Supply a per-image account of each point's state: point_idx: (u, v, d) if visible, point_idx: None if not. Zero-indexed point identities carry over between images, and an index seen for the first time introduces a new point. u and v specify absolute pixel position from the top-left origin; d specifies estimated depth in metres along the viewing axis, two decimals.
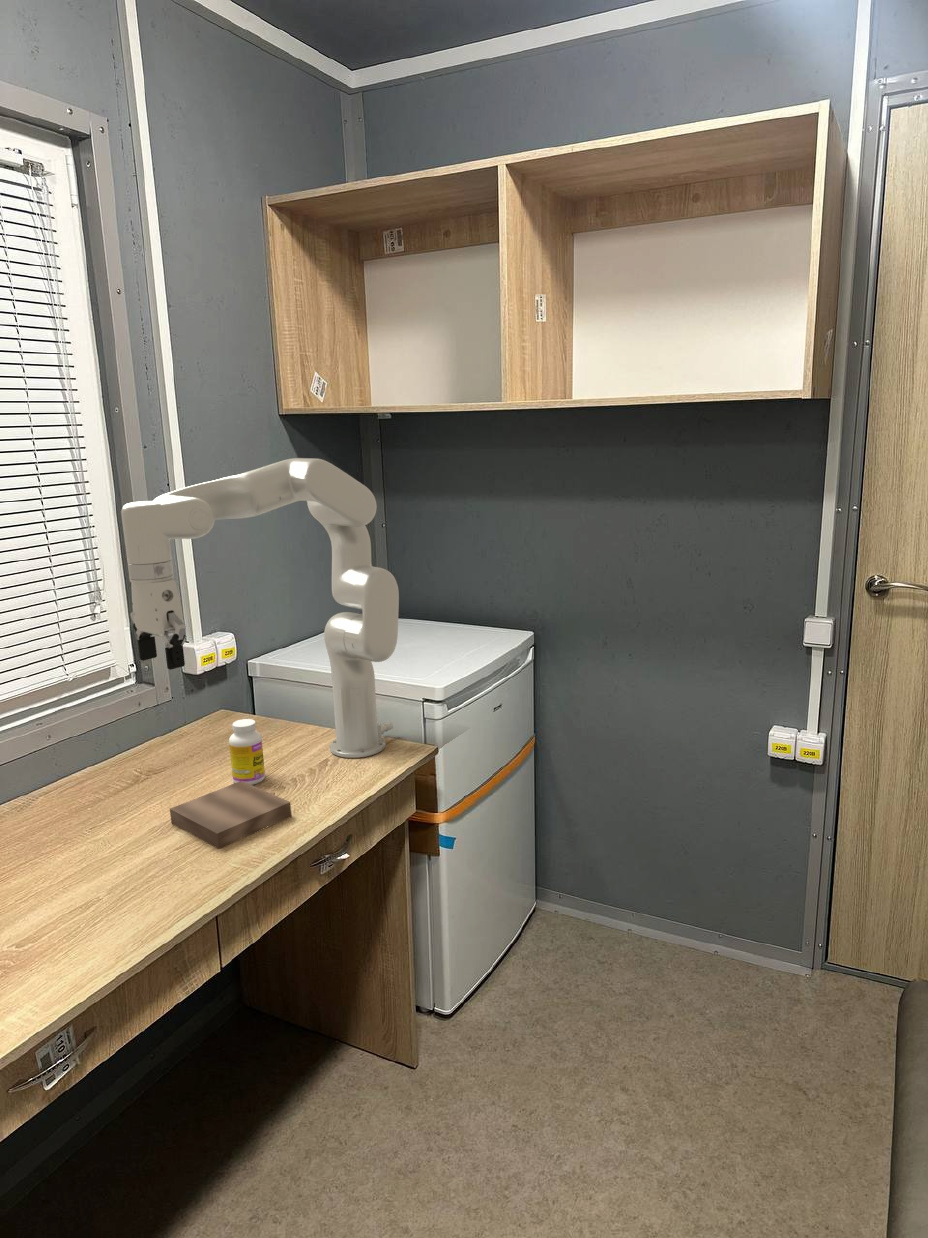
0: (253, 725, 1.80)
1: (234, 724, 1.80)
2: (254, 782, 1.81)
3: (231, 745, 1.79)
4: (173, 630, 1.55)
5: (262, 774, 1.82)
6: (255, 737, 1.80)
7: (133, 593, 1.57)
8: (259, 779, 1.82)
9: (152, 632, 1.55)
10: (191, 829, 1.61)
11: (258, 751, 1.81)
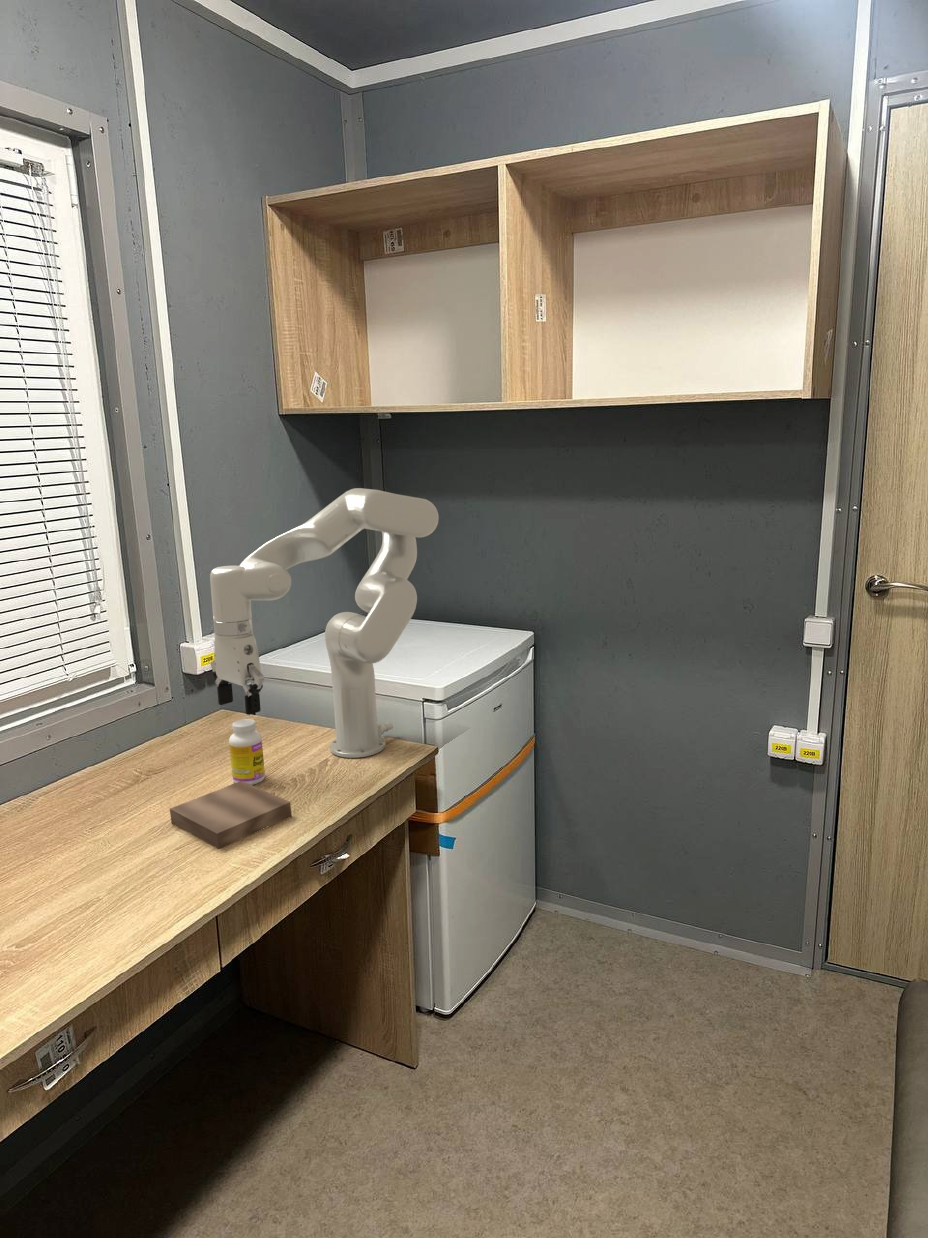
0: (253, 725, 1.80)
1: (234, 724, 1.80)
2: (254, 782, 1.81)
3: (231, 745, 1.79)
4: (251, 680, 1.75)
5: (262, 774, 1.82)
6: (255, 737, 1.80)
7: (216, 646, 1.77)
8: (259, 779, 1.82)
9: (233, 681, 1.76)
10: (191, 829, 1.61)
11: (258, 751, 1.81)
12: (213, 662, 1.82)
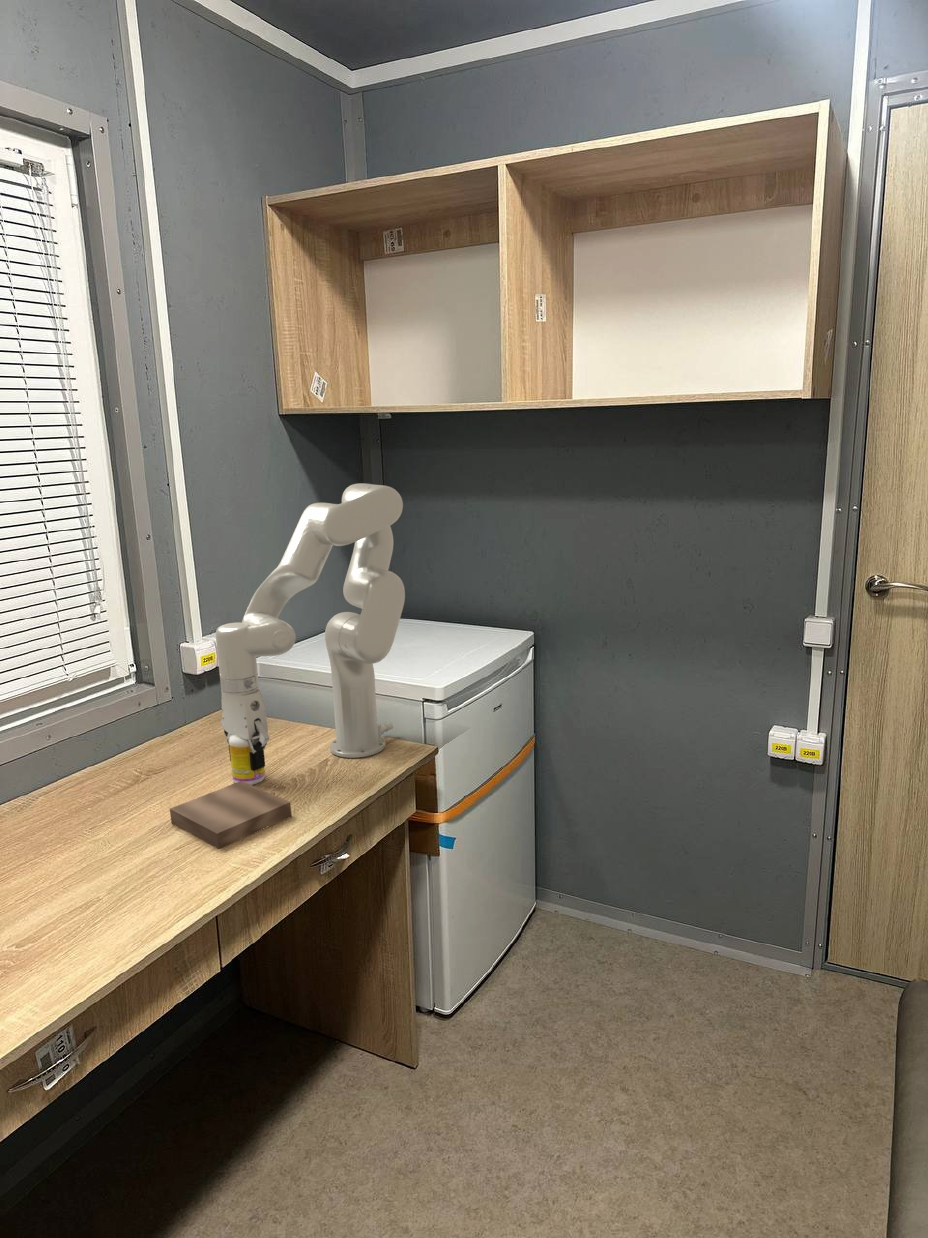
0: None
1: None
2: (254, 782, 1.81)
3: (231, 745, 1.79)
4: (257, 736, 1.79)
5: (262, 774, 1.82)
6: None
7: (223, 701, 1.80)
8: (259, 779, 1.82)
9: (240, 736, 1.79)
10: (191, 829, 1.61)
11: None
12: (222, 720, 1.85)
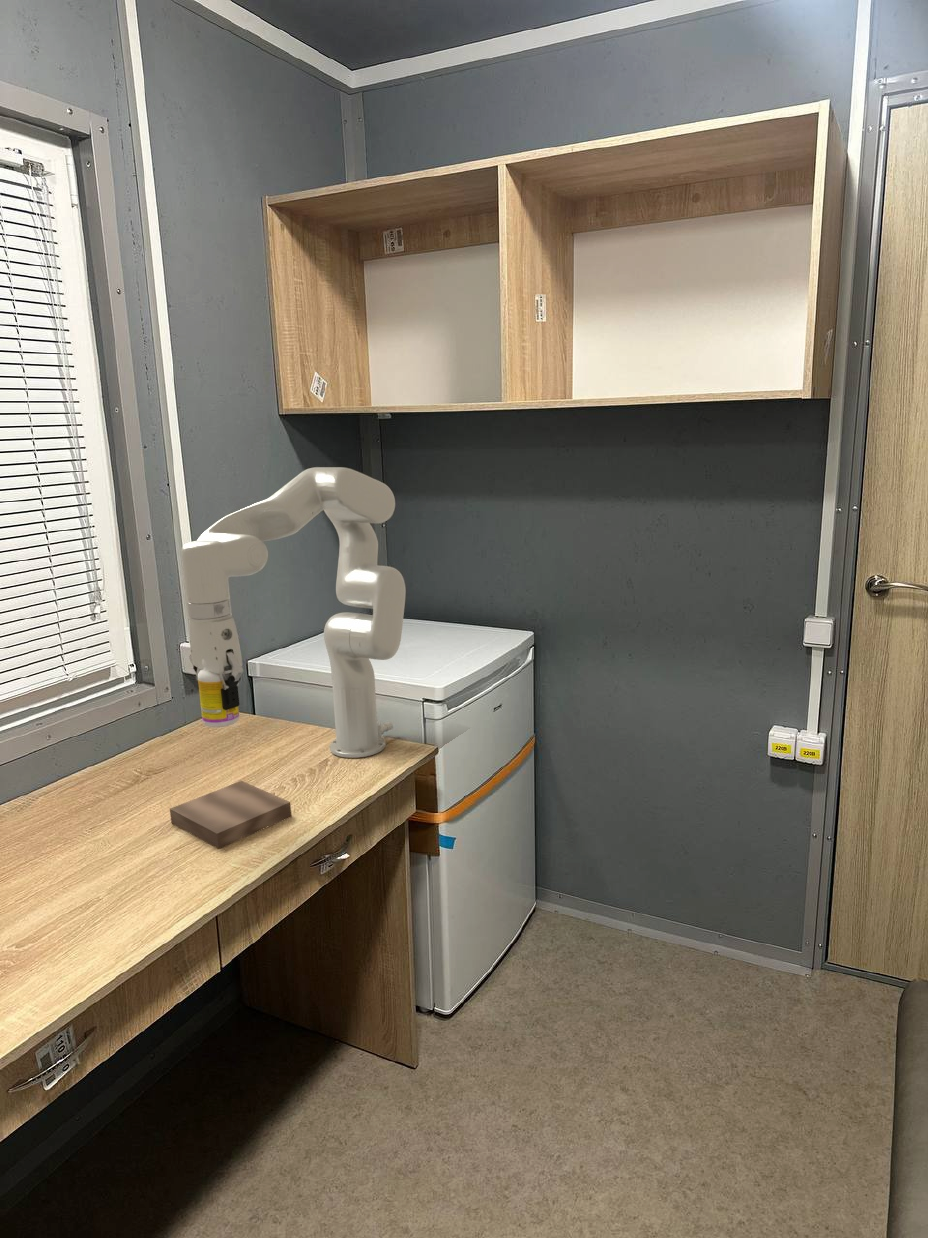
0: None
1: None
2: (226, 723, 1.58)
3: (200, 681, 1.57)
4: (230, 671, 1.57)
5: (235, 715, 1.60)
6: None
7: (191, 631, 1.57)
8: (232, 720, 1.59)
9: (211, 670, 1.56)
10: (191, 829, 1.61)
11: None
12: None
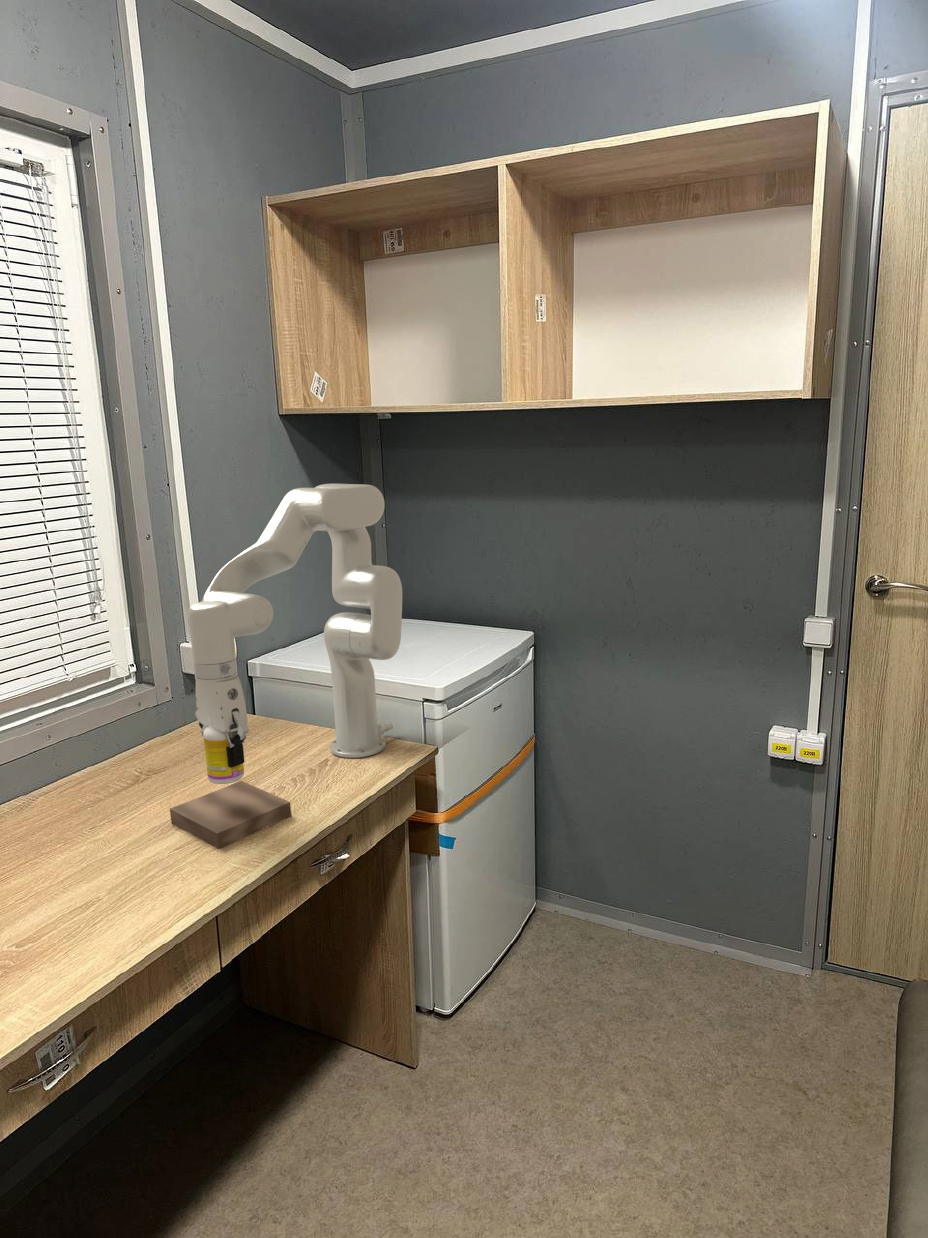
0: None
1: None
2: (231, 780, 1.61)
3: (205, 738, 1.59)
4: (235, 729, 1.59)
5: (240, 772, 1.62)
6: None
7: (198, 689, 1.60)
8: (237, 777, 1.62)
9: (216, 728, 1.59)
10: (191, 829, 1.61)
11: None
12: None
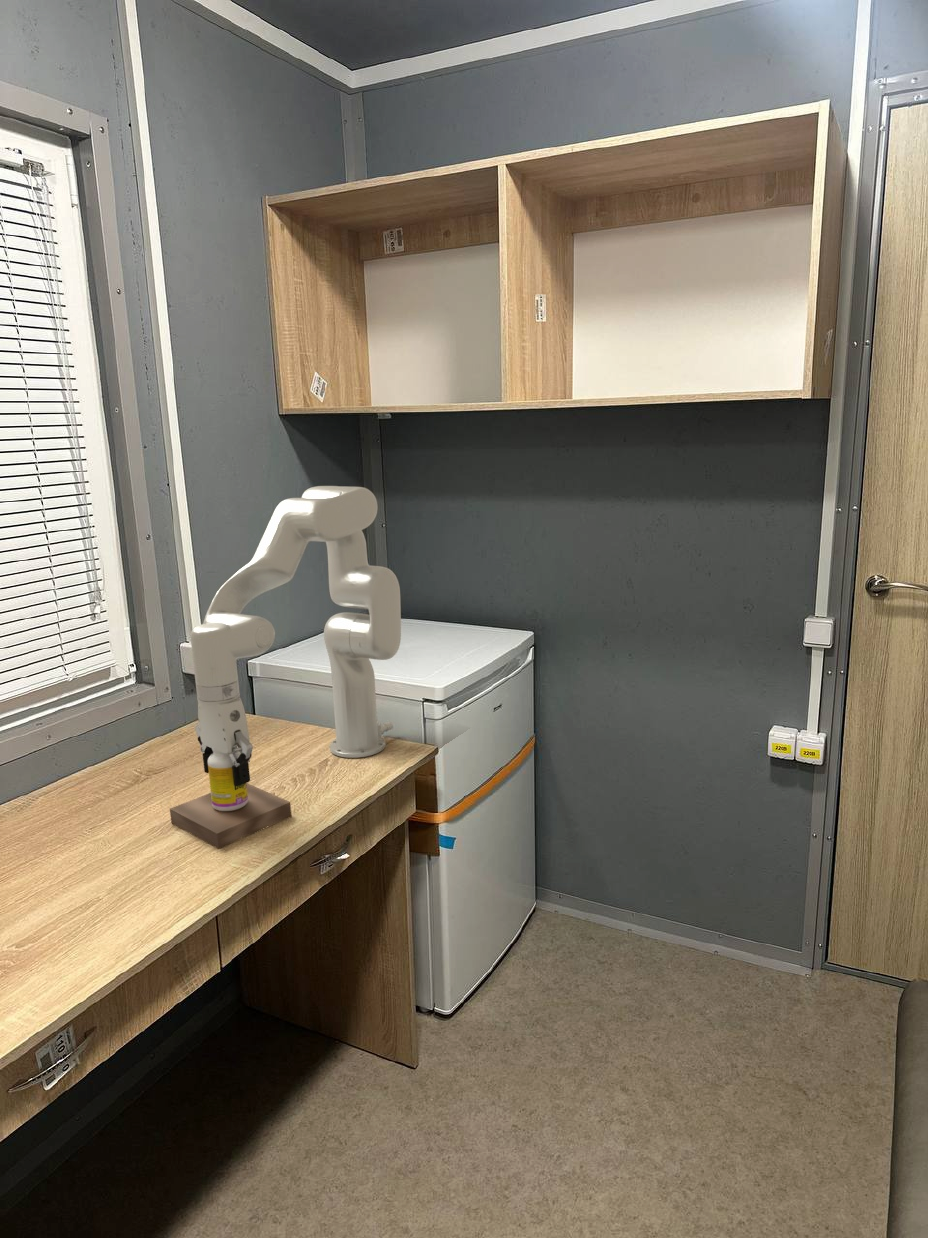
0: None
1: None
2: (236, 807, 1.62)
3: (210, 766, 1.61)
4: (239, 748, 1.60)
5: (244, 799, 1.64)
6: (237, 757, 1.62)
7: (200, 710, 1.61)
8: (241, 804, 1.63)
9: (219, 750, 1.60)
10: (191, 829, 1.61)
11: None
12: (197, 726, 1.66)
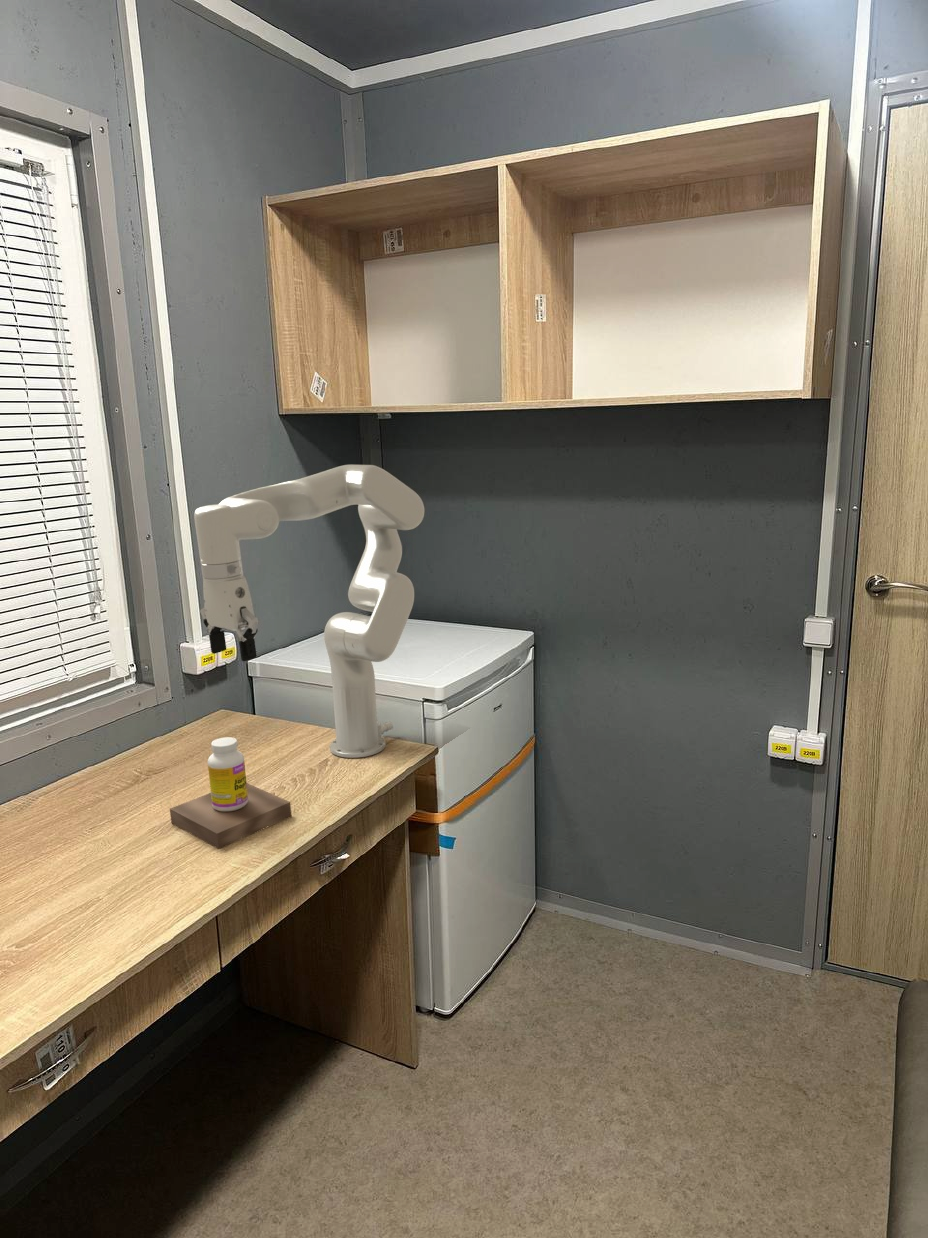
0: (234, 744, 1.62)
1: (213, 743, 1.61)
2: (236, 808, 1.62)
3: (210, 767, 1.61)
4: (245, 624, 1.67)
5: (244, 799, 1.64)
6: (237, 758, 1.62)
7: (206, 591, 1.67)
8: (241, 804, 1.63)
9: (226, 627, 1.67)
10: (191, 829, 1.61)
11: (240, 774, 1.62)
12: (203, 609, 1.73)
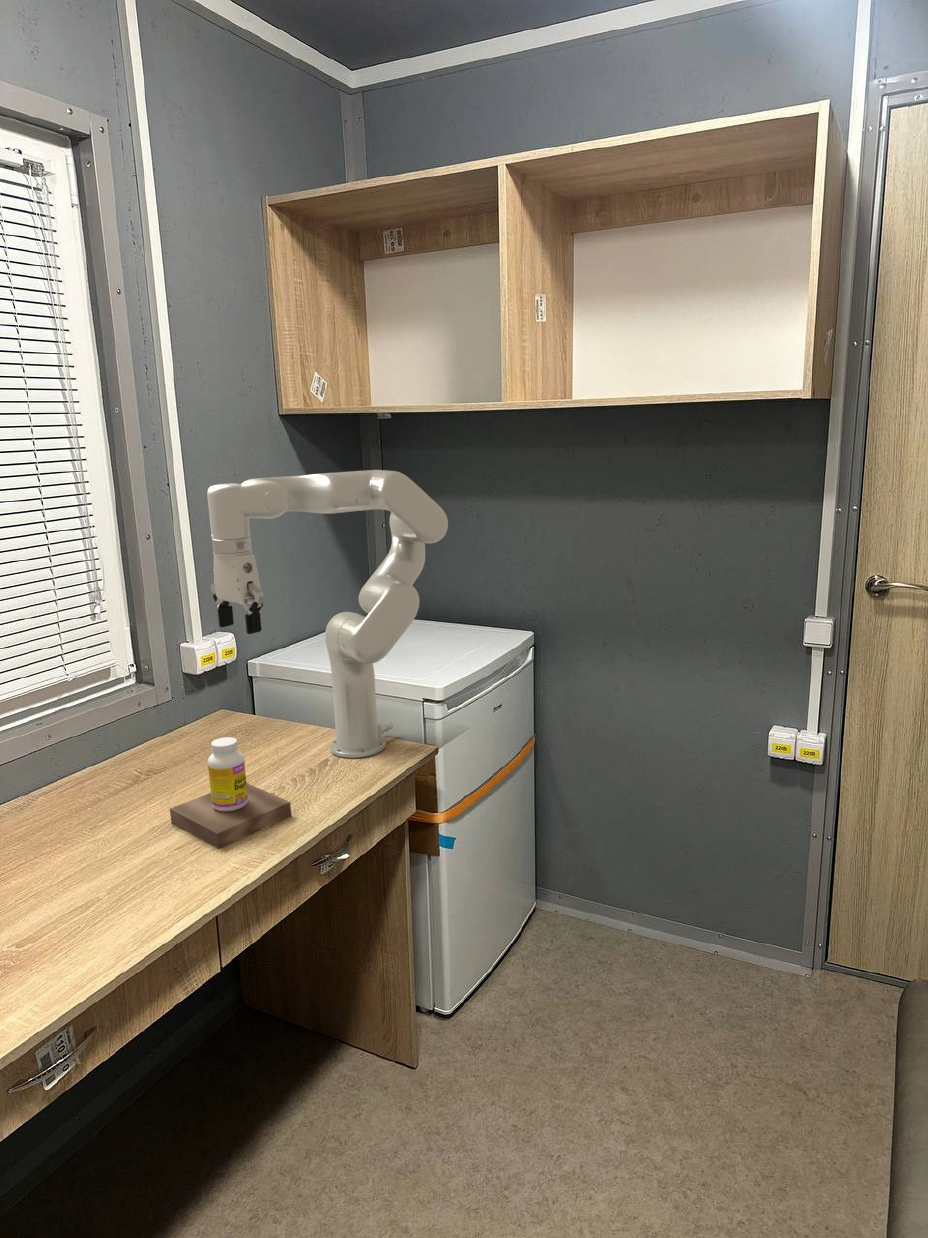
0: (234, 744, 1.62)
1: (213, 743, 1.61)
2: (236, 808, 1.62)
3: (210, 767, 1.61)
4: (252, 599, 1.74)
5: (244, 799, 1.64)
6: (237, 758, 1.62)
7: (216, 566, 1.75)
8: (241, 804, 1.63)
9: (233, 601, 1.74)
10: (191, 829, 1.61)
11: (240, 774, 1.62)
12: (213, 584, 1.81)
